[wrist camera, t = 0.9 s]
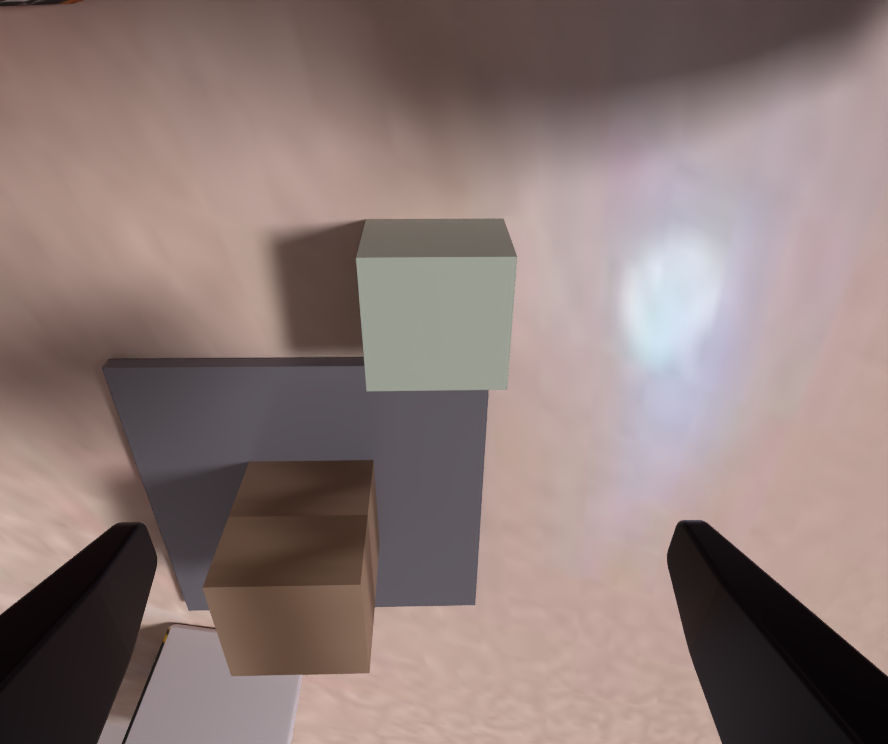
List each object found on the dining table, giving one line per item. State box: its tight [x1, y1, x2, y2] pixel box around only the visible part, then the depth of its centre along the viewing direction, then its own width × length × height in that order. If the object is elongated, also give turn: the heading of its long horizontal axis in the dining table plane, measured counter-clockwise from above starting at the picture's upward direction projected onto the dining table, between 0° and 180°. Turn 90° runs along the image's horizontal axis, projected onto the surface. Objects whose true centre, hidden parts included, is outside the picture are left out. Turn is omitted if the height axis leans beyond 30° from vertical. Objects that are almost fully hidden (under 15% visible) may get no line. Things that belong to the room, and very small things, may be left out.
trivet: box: [102, 358, 489, 611], centre depth 25 cm, size 14×14×1 cm
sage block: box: [356, 219, 517, 391], centre depth 19 cm, size 4×4×4 cm
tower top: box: [202, 515, 375, 676], centre depth 21 cm, size 5×5×3 cm
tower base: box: [229, 460, 380, 596], centre depth 24 cm, size 5×5×3 cm
